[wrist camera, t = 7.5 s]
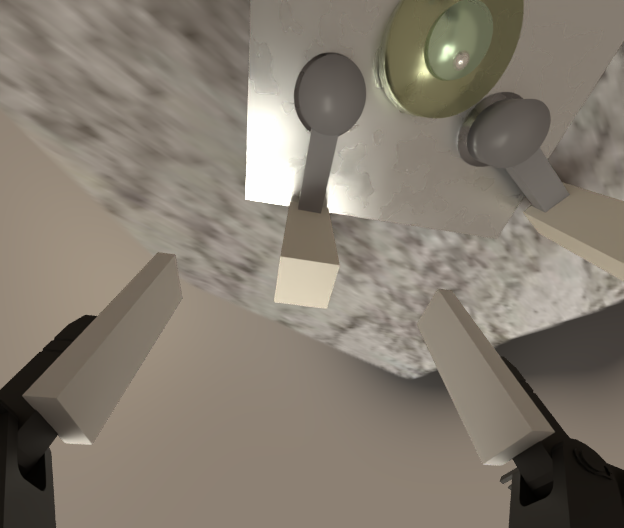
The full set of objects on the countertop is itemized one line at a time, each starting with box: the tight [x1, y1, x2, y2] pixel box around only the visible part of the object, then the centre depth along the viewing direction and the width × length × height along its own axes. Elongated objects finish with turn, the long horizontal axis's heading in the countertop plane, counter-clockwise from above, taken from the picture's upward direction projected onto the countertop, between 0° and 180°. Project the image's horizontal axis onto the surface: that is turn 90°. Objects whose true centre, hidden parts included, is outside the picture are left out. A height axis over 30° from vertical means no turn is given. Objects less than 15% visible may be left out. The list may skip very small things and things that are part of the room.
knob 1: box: [274, 54, 366, 309], centre depth 15 cm, size 13×4×9 cm, turn 169°
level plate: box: [245, 0, 624, 239], centre depth 15 cm, size 23×23×6 cm
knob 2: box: [467, 99, 624, 281], centre depth 16 cm, size 13×4×9 cm, turn 50°
